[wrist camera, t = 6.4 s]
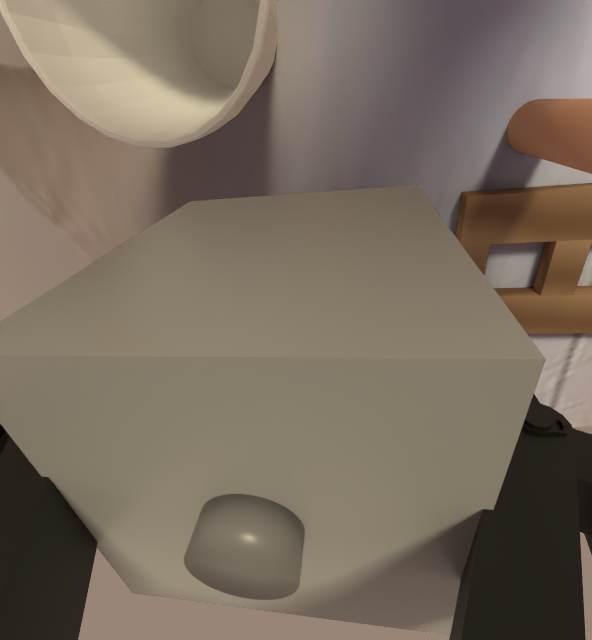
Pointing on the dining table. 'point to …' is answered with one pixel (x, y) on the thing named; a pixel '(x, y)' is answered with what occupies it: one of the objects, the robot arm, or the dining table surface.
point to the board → (558, 254)
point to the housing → (278, 404)
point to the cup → (148, 61)
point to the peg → (554, 131)
